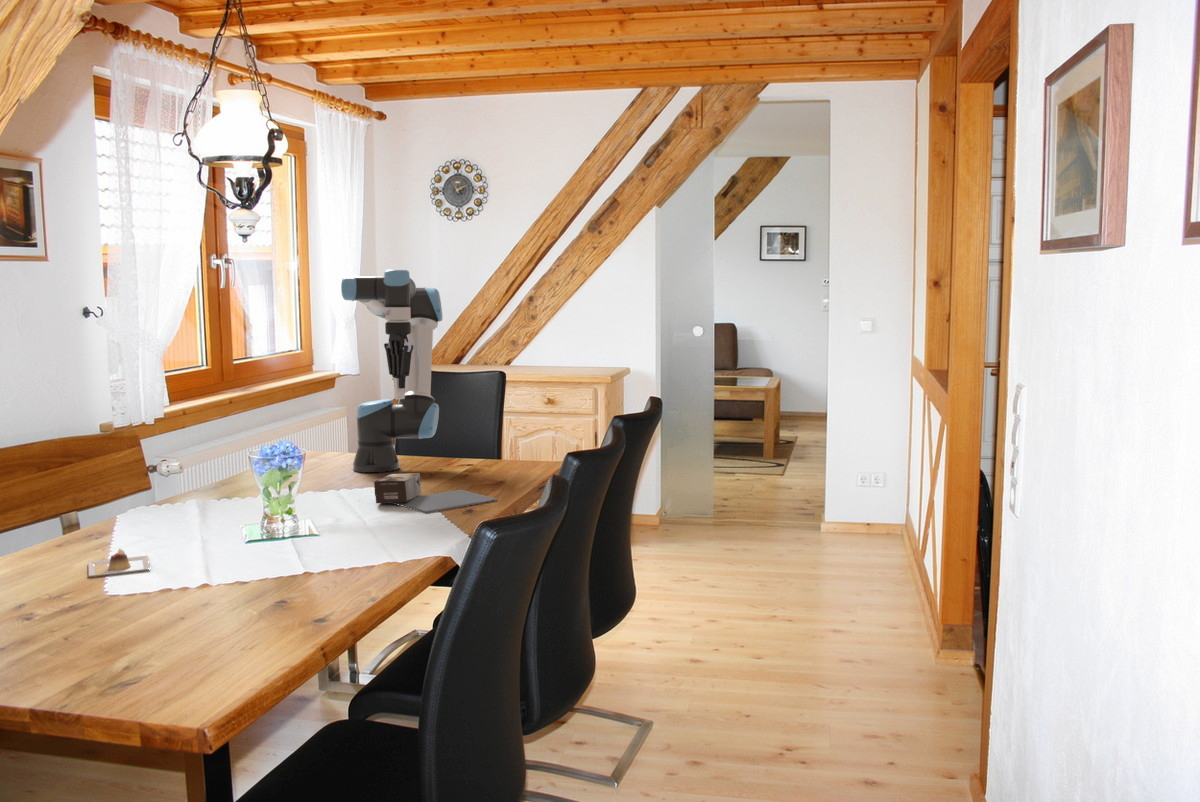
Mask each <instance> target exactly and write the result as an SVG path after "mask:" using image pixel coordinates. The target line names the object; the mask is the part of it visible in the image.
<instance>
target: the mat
mask: <svg viewBox="0 0 1200 802" xmlns="http://www.w3.org/2000/svg"><path fill="white" fill-rule="evenodd" d="M492 501H494V502H498V498H495V497H491V496H487V495H483V494H480V493H475V492H472V491H468V490H464V489H458V490H457V489H455V490H452V491H444V492H439V493H431V494H426V495H425V494H424V495H420V496H419V495H418V496H416V497H414V498H413V499H411V500H409V501H407V502H401V503H396V504H399V505H398V506H400V505H403V506H406V507H409V508H408V509H410V508H412V509H411V510H413V509H415V510H414V511H416V510H418V511H417V512H419V511H420V512H419V513H423V514H430V513H431V512H432V513H437V512H442V511H447V510H449V511H450V510H453V509H454V508H455V509H459V507H460V508H464V507H465V506H466V507H471V506H470V505H472V506H475V505H476V504H477V505H482V504H481V503H483V504H487V503H486V502H489V503H493V502H492ZM396 504H395V505H396ZM477 505H476V506H477ZM403 506H402V507H403ZM406 507H405V508H406ZM466 507H465V508H466ZM432 513H431V514H432Z"/></svg>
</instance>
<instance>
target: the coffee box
mask: <svg viewBox="0 0 1200 802" xmlns="http://www.w3.org/2000/svg"><path fill="white" fill-rule="evenodd" d="M421 483H422V482H421V474H420V473H418V472H417V473H391V474H388V475H387V476H384V477H382V478H379V479H377V480H376V481H374V482H373V485H374V496H375V504H393V503H401V502H407V501H409V500H411V499H413V498H414V497H418V496H419V495H420V496H421V494H422V487H421V486H422V485H421Z"/></svg>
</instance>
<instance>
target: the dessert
mask: <svg viewBox="0 0 1200 802" xmlns="http://www.w3.org/2000/svg"><path fill="white" fill-rule="evenodd" d="M135 561H142V566H143V568H142V569H141V568H140V569H132V570H128V569H130V568H131V563H130V562H135ZM87 564H88V565H87V567H88V568H87V569H88V573H87V574H88V575H87V576H88V577H91V578H96V577H97V578H99V577H104V576H105V577H106V576H114V575H122V574H123V575H124V574H130V573H138V572H139V573H142V572H147V571H149V570H151V569H152V567H151V563H150V557H149V555H141V556H140V555H139V556H131V557H128V555H127V554H126V553H125V550H124V549H121V548H119V549H118V551H117V552H116V553H115V554H113V555H111V556H110V559H106V560H105V559H103V560H95V561H88V563H87ZM107 564H108V568H107V570H108V571H112V572H108V573H107V572H106V573H99V574H97V573H96V566H98V565H107ZM116 571H117V572H116Z"/></svg>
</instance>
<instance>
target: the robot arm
mask: <svg viewBox="0 0 1200 802" xmlns="http://www.w3.org/2000/svg"><path fill="white" fill-rule="evenodd" d="M340 290H341V296H342V299H344V300H345V301H352V302H354V301H358V302H359V303H361V304H362V305H365V306H366V308H367V309H368V311H369V313H371V314H372V315H375V316H377V317H379V318H382V319H385V321H386V322H385V324H384V325H385V328H384V329H385V335H388V342H386V343H384V344H383V346H384V350H385V355H386V360H387V361H386V362H387V367H388V374H389V375H390V376H392V377H393V387H394V389H393V391H394V400H398V401H399V403H394V401H393V400H392V399H390V398H387V399H378V400H376V399H375V400H371V401H366V402H363V403H360V404H359V405H358V406H357V411H356V412H357V417H356V419H357V421H356V423H357V448H356V449H357V450H356V453H355V456H354V459H353V464H352V470H353V471H354V472H356V473H357V472H358V473H365V472H379V473H386V472H385V471H389V472H393V471H392V470H394V471H396V469H397V470H398V468H400V461H399V459H398V455H397V453H396V449H395V447H394V439H419V440H421V439H430V438H433V437H434V435H435V434H436V432H437V428H438V425H439V423H438V422H439V417H440V416H439V415H440V407H439V404H438V403H436V401H435V398H434V397H433V396H432V395H431V393H432V392H431V391H432V389H431V388H432V385H431V384H432V363H433V339H434V338H433V337H434V336H433V335H434V330H435V329H437V327H438V325H439V322H442V321H443V308H442V301H441V295H440V291H439V290H438V289H437V288H434V287H426V286H425V287H417V286H416V283H415V281H414V280H413V279H412V278H410V271H409V270H407V269H386V270H385V271H384V276H383V275H381V276H378V275H377V276H376V275H374V276H370V275H369V276H367V275H364V276H363V275H361V276H360V275H359V276H358V275H350V276H348V275H347V276H344V277H342V280H341V288H340Z"/></svg>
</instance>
